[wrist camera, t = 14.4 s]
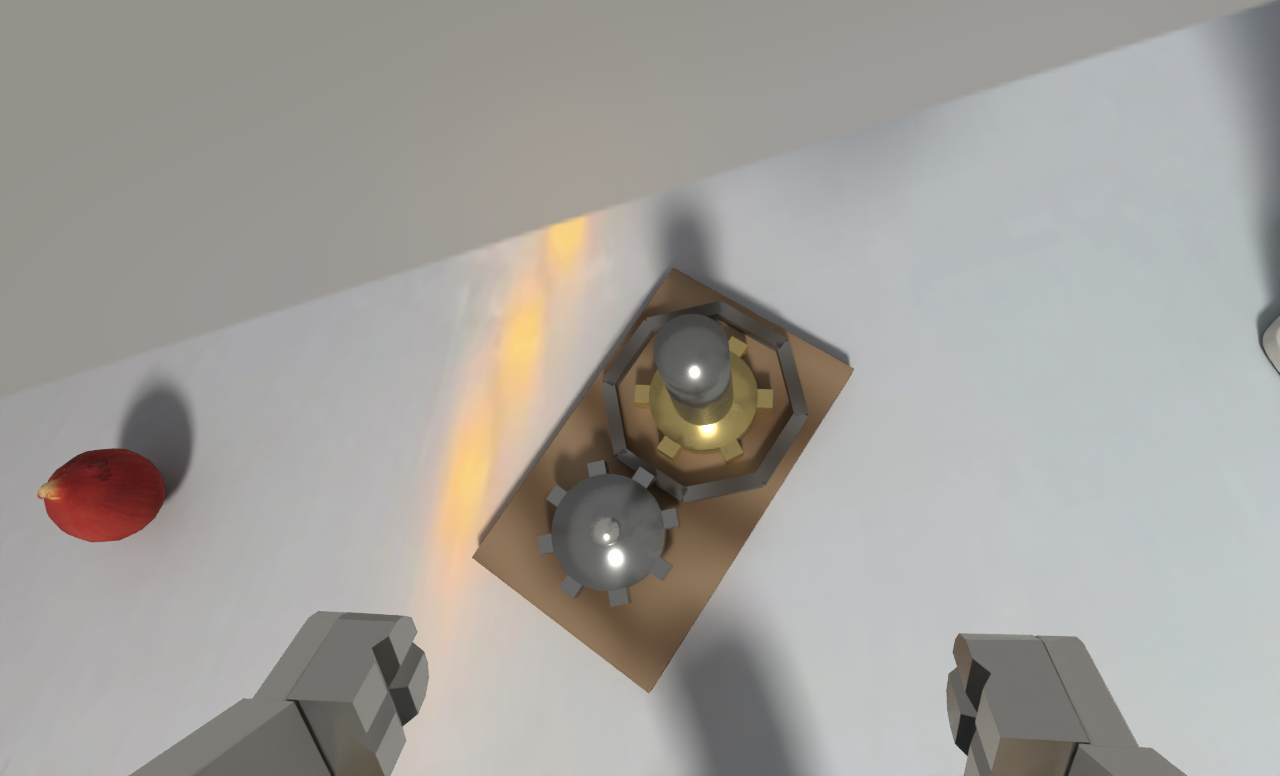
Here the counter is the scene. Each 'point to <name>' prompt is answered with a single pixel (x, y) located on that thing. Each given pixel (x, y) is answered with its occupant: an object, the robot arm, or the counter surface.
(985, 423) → the counter surface
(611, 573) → the gear
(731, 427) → the gear
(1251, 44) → the counter surface
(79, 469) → the onion
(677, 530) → the gear board
